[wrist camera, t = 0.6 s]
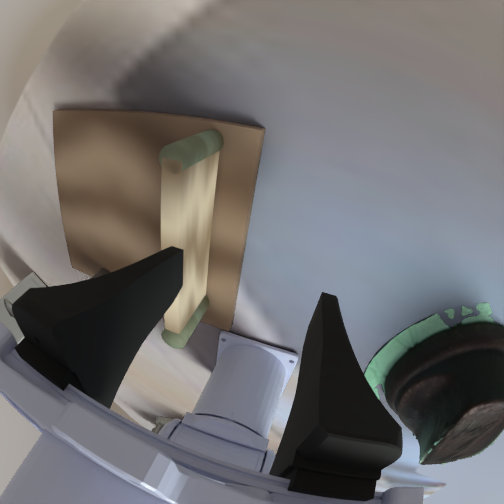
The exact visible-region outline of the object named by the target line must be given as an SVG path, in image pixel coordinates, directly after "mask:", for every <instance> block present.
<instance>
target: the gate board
mask: <svg viewBox="0 0 504 504" xmlns="http://www.w3.org/2000/svg"><path fill="white" fill-rule="evenodd" d="M210 129H214V130H217V131H218V132H220V133H221V135H222V136H223V139H224V144H223V147H222V149H221V150H220V153H219V161H218V170H217V179H216V188H215V197H214V207H213V217H212V227H211V238H210V249H209V261H208V274H207V287H206V295H205V296H206V297H207V298H208V299H209V302H210V305H209V307H208V309H207V310H206V312H205V313H204V315H203V317H202V318H201V320H200V321H201V322H203V323H206V324H209V325H212V326H214V327H217V328H220V329H223V330H226V331H229V330H230V328H231V326H232V324H233V318H234V312H235V306H236V300H237V294H238V287H239V281H240V275H241V269H242V263H243V257H244V251H245V245H246V239H247V233H248V227H249V221H250V215H251V209H252V203H253V197H254V191H255V185H256V180H257V174H258V168H259V162H260V156H261V150H262V145H263V139H264V133H265V128H260V127H255V126H250V125H245V124H239V123H234V122H228V121H222V120H215V119H209V118H201V117H194V116H186V115H178V114H168V113H158V112H146V111H132V110H113V109H59V110H55V111H53V136H54V154H55V167H56V177H57V186H58V194H59V201H60V208H61V214H62V220H63V226H64V232H65V237H66V242H67V247H68V252H69V256H70V260H71V265H72V267H73V268H75V269H77V270H79V271H81V272H83V273H85V274H87V275H90V276H92V278H91V279H93V278H96V277H99V276H102V275H105V274H108V273H111V272H114V271H116V270H119V269H121V268H124V267H126V266H128V265H131V264H133V263H135V262H138V261H140V260H142V259H144V258H146V257H148V256H151V255H153V254H155V253H157V252H159V251H161V175H162V167H161V165H160V162H159V154H160V151H161V149H162V148H163V147H164V146H166V145H168V144H171V143H173V142H176V141H179V140H181V139H184V138H187V137H190V136H192V135H195V134H198V133H201V132H204V131H207V130H210Z"/></svg>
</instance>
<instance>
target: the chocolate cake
mask: <svg viewBox="0 0 504 504" xmlns="http://www.w3.org/2000/svg"><path fill="white" fill-rule="evenodd" d="M489 307H490V305H489V303H480V304H478V305H477V306H476V310H479V312H480V314H479V315H478V316H470V317H468V318H467V317H466V319H463V321H462V322H461V323H460V324H454V326H453V327H449V326H447V325H446V324H445V323H444V322H443V320H442V319H440V316H439V315H438V314H437V313H436V314H435V315H433V316H431V317H429V318H427V319H426V320H424V321H421V322H419V323H417V324H415V325H412V326H410V327H409V328H408V329H406V330H404V331H403V332H402V333H400V334H399V335H397V336H396V337H394V338H393V339H392V340H391V341H390V342H389V343H388V344H387V345H386V346H385V347H384V348H383V349H382V350H380V352H379V353H378V354H377V355H376V356H375V357H374V358H373V359H372V361H371V362H370V364H369V365H368V367H367V370H366V372H365V375H364V376H365V377H366V379H367V381H368V383H369V384H370V386H371V388H372V389H373V391H374V393H375V394H376V396H377V397H378V399H380V397H379V396H378V388H374V387H375V386H376V385H378V384H381V385H382V388H383V389H384V393H385V397H386V400H387V403H388V404H389V406H390V407H391V409H392V410H393V411H394V412H395V413H396V414H397V415H399V418H400V420H401V421H402V422H403V423H404V425H405V426H406V427H407V428H409V429H410V430H411V431H412V432H413V433H414V434H415V436H416V439H418V442H419V445H420V461H419V463H420V464H421V465H426V464H441V463H443V464H442V465H444V464H446V463H447V462H453V461H456V460H458V459H465V458H469V457H472V456H475V455H477V454H480V453H481V452H482V451H484V450H485V449H486V448H487V447H488V446H490V445H492V444H493V443H494V442H495V440H496V439H497V438H498V437H499V436H500V434H501V433H502V431H503V429H504V325H499V324H497V323H495V322H494V320H493V318H492V317H489V316H490V314H492V310H490V309H491V307H490V308H489ZM445 313H447V314H448V317H449V318H450V319H453V318H454V309H453V308H451V309H448V310H445ZM469 313H470V314H472V313H473V312H472V309H468V308H466V307H465V306H463V307H462V313H461V314H462V316H465V315H468V314H469ZM487 315H488V316H487ZM485 316H486V317H485ZM414 434H413V436H414Z"/></svg>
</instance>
